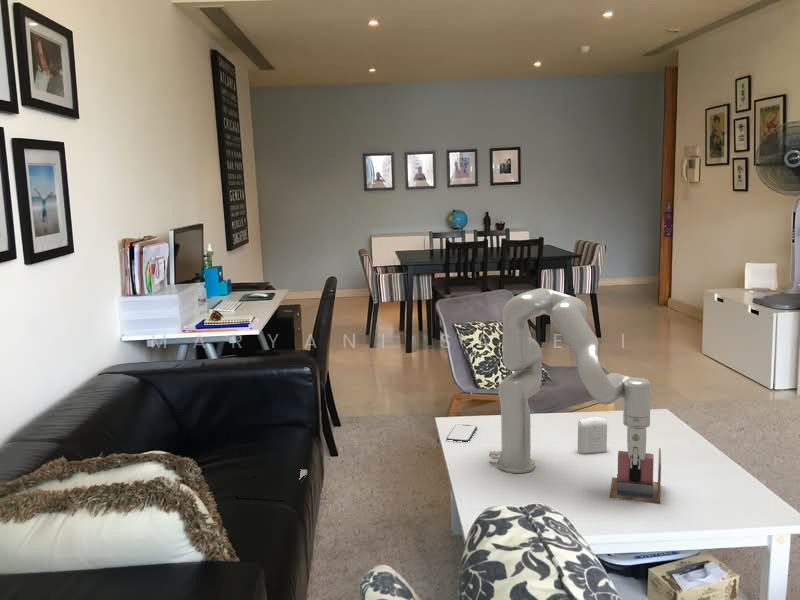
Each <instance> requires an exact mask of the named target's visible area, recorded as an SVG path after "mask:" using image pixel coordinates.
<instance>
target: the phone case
mask: <svg viewBox="0 0 800 600" xmlns="http://www.w3.org/2000/svg"><path fill="white" fill-rule="evenodd" d="M477 430H478V426H477V425H473V424H472V425H470V424H455V425H454V427H453V428H452V430H451V431H450V432H449V434H448V435H447V437H446V441H447V440H453V441H462V442H468V441H471V440H472V439H473V437H474V435H475V434H474V433H476V432H477ZM475 431H476V432H475ZM473 434H474V435H473ZM472 436H473V437H472ZM471 438H472V439H471ZM470 439H471V440H470Z"/></svg>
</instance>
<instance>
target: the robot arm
mask: <svg viewBox="0 0 800 600" xmlns="http://www.w3.org/2000/svg"><path fill="white" fill-rule="evenodd" d="M542 315H547V316H550V317H551V321H552V322H553V324H554V326H555V328H556V329H557V330H558V332H559V334H560V335H561V336H562V338H563V340H564V341H565V343H566V344H567V347H569V349H570V350H571V353H572V355H573V357H574V363H575V366H576V369H577V370H576V371H577V373H578V375H579V378H580V380H581V381H582V384H583V386H584V387H585V388H586V390H587V391H588V393H589V395H590V396H591V397H592V398H593V400H594V401H596V402H597V403H599V404H601V405H606V406H607V405H611V404H613V403H614V402H616V401H617V400H619V399H623V408H622V409H623V411H622V412H623V415H622V421H623V422H622V423H623V425H624V426H625V427H626V433H627V435H626V436H627V437H626V441H627V443H626V446H627V447H626V448H627V452H628V458H629V459H630V460H631V462H630V469H629V480H630V481H635V482H640V481H641V469H640V459H641V460H643V461H644V460H645V458H646V453H647V428H649V427H650V426H651V397H652V394H651V393H652V391H651V390H652V387H651V386H652V384H651V381H649V380H648V379H647V378H643V377H638V376H637V377H636V376H635V377H633V376H628V375H625V374H622V373H618V372H610V373H608V374H607V375H606V373H605V372H604V369H603V368H602V366H601V363H600V361H599V356H598V355H599V354H598V352H599V340H598V337H597V336H596V334H595V333H594V332H593V330H592V328H591V327H590V325H589V323H588V322H587V320H586V318H587V316H588V308H587V305H586V303H585V302H584V301H583V300H582V299H580V298H578V297H576V296H573V295H569V294H566V293H562V292H559V291H557V290H556V291H555V290H553V289H549V288H544V287H543V288H541V287H540V288H535V289H531V290H528V291H526V292H525V291H524V292H523V293H519V294H517V295H515V296H513V297H512V298H510V299H509V300H508V301H507V302H506V303H505V305H504V307H503V310H502V362H503V363H502V364H503V365H504V367H505V368H506V369H507V370H509V371H511V372H512V373H510V374H509V375H507V376H505V377H504V378H503V379H502V380H501V382H500V383H499V386H498V398H499V404H500V417H501V418H500V420H501V422H500V424H501V427H500V428H501V430H500V431H501V450H499V451H496V450H495V451H494V450H489V451H488V457H489V458H490V459H491V460H497V462H496V465H497V468H498V469H500V470H502V471H503V472H506V473H511V474H523V473H529V472H531V471H534V469H535V468H536V462H535V460H534V459H532V458H531V411H530V407H529V402H528V399H529V398H531V397H533V396H534V395H536V394H537V393H538V392H539V391H540V389H541V385H542V378H543V377H542V373H543V372H542V371H543V369H542V368H543V367H542V365H543V363H542V362H543V357H542V356H543V354H542V353H543V352H542V349H541V346H540V344H539V342H538V341H536V340H535V339H534V338H532V337H530V326H529V323H528V320H530V319H534V318H537V317H540V316H542ZM632 456H633V458H632ZM637 457H639V458H637ZM632 461H633V462H632ZM637 461H638V463H637Z"/></svg>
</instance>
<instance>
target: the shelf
mask: <svg viewBox="0 0 800 600" xmlns="http://www.w3.org/2000/svg"><path fill="white" fill-rule="evenodd" d="M661 452H662V450H661V448H660V447H659V448H658V470H657V471H658V472H657V474H658V475H657V481H653V499H646V498H637V497H628V496H620V495H617V479H618V473H617V474H616V477H614V476H613V477H611V484H610V489H609V490H610V491H609V498H611V499H616V498H618V499H617V500H625V499H626V500H627V501H633V500H634V502H635V501H636V502H642V503H651V504H659V503H660V504H661V481H662V480H661V479H662V477H661V475H662V454H661Z"/></svg>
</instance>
